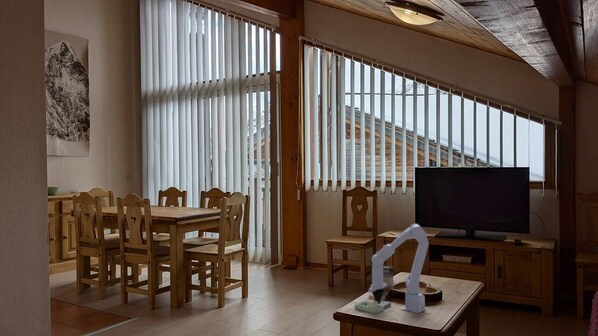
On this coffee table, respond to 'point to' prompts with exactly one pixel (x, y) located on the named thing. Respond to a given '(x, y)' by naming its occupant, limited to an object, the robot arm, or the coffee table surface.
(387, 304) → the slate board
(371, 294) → the terracotta tile
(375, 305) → the cream tile
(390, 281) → the coffee box
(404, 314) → the coffee table surface
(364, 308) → the green tray
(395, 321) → the coffee table surface
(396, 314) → the coffee table surface
